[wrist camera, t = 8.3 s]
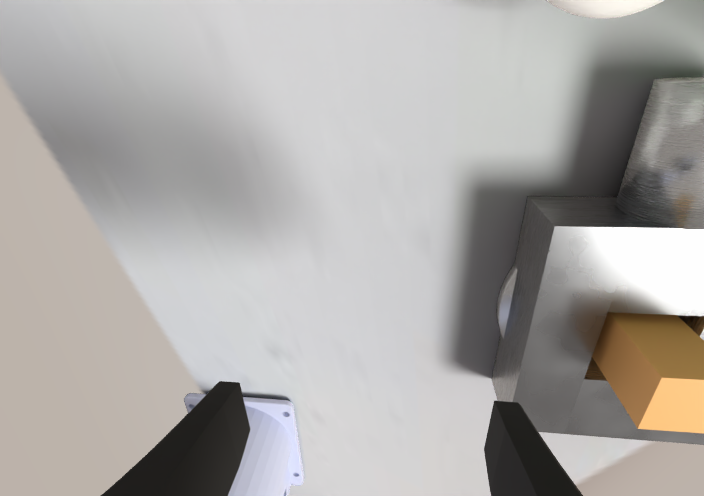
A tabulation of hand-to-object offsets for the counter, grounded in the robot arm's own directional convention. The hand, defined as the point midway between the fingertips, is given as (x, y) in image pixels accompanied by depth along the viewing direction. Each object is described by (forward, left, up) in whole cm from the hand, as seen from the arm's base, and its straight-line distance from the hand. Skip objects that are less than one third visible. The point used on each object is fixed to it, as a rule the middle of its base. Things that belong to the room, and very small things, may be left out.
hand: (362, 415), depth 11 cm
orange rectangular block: (-3, -12, -10) cm, 16 cm away
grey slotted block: (0, -12, -10) cm, 16 cm away
